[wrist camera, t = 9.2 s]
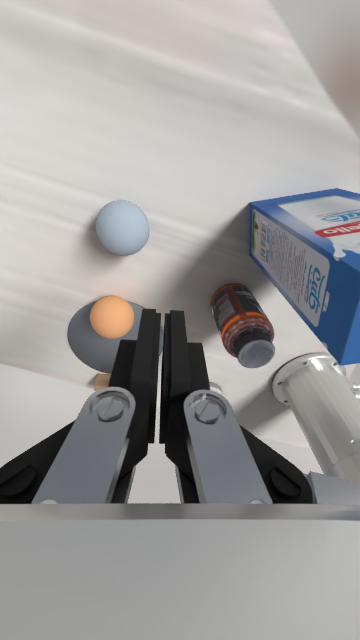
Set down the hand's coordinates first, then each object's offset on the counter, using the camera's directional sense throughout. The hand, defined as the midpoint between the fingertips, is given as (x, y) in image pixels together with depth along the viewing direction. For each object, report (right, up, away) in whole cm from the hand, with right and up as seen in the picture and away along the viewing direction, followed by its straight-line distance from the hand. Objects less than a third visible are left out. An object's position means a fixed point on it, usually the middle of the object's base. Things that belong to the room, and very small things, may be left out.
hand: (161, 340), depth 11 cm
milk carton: (+14, +12, +20) cm, 28 cm away
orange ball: (-8, +1, +23) cm, 24 cm away
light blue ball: (-5, +10, +17) cm, 20 cm away
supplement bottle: (+8, +4, +26) cm, 27 cm away
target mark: (-9, -2, +28) cm, 29 cm away
